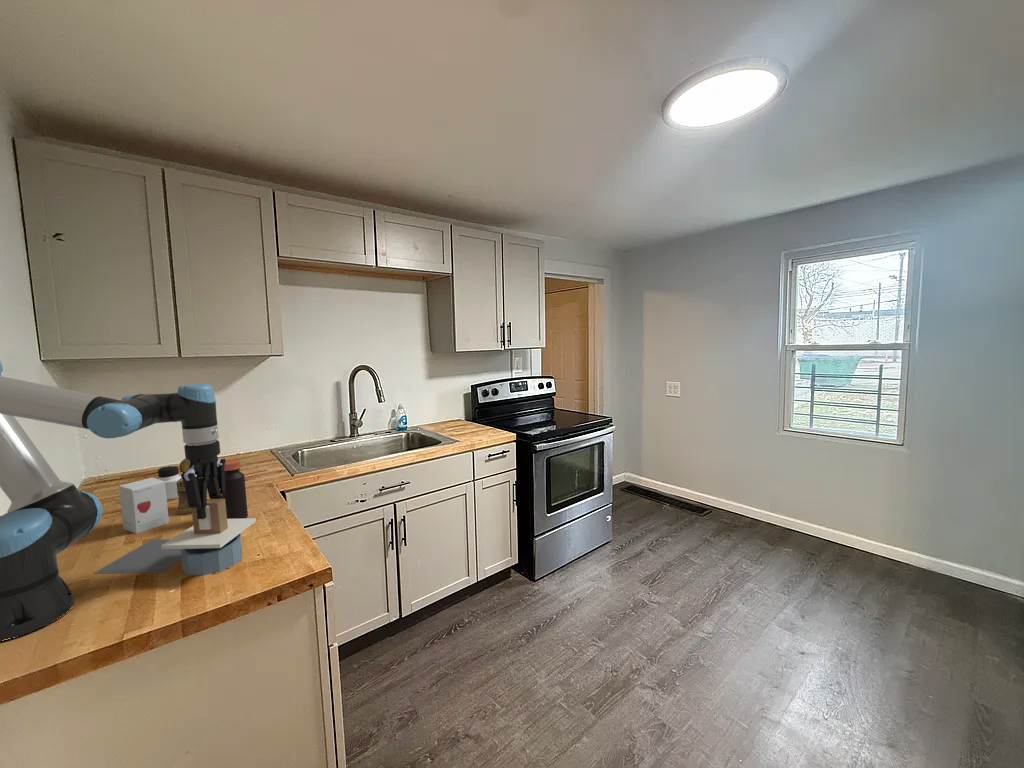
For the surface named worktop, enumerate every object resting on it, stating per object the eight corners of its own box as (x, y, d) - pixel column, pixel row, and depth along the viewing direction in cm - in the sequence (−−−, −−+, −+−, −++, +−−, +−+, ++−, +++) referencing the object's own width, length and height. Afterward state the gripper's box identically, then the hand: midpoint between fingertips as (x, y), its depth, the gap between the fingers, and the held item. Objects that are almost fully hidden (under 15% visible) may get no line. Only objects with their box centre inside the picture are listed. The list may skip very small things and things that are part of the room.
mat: (162, 574, 108) (162, 572, 107) (92, 575, 107) (92, 573, 107) (211, 540, 125) (210, 538, 125) (151, 541, 125) (151, 539, 125)
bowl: (221, 576, 106) (219, 554, 106) (171, 577, 106) (168, 555, 105) (252, 550, 119) (250, 530, 119) (207, 551, 119) (205, 531, 118)
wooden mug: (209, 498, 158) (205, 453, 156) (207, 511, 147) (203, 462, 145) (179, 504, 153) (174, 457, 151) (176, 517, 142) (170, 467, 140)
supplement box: (136, 535, 129) (130, 490, 127) (122, 529, 133) (117, 485, 131) (170, 523, 137) (165, 480, 135) (156, 518, 141) (152, 476, 139)
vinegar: (236, 523, 136) (230, 466, 134) (219, 522, 138) (213, 464, 135) (252, 515, 143) (248, 459, 141) (236, 513, 144) (231, 458, 142)
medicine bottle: (178, 498, 158) (175, 468, 157) (155, 501, 156) (152, 470, 154) (185, 492, 165) (182, 463, 164) (163, 494, 162) (160, 465, 161)
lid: (220, 548, 104) (216, 512, 103) (161, 549, 104) (156, 513, 103) (255, 521, 119) (253, 490, 118) (204, 522, 119) (200, 491, 118)
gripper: (193, 450, 101) (202, 540, 104) (235, 434, 117) (243, 512, 119) (162, 450, 101) (172, 540, 103) (209, 434, 117) (217, 513, 119)
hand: (210, 525), depth 111 cm, fingers closed on lid, 3 cm apart
